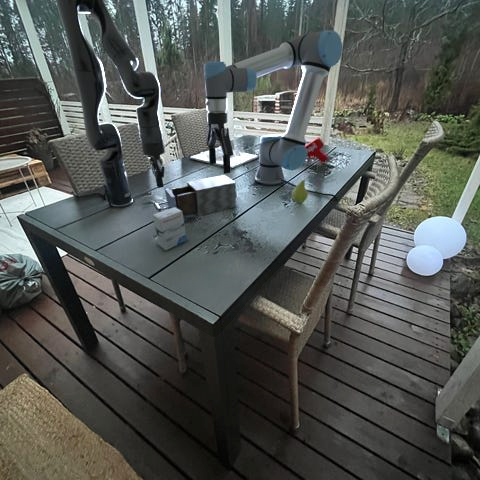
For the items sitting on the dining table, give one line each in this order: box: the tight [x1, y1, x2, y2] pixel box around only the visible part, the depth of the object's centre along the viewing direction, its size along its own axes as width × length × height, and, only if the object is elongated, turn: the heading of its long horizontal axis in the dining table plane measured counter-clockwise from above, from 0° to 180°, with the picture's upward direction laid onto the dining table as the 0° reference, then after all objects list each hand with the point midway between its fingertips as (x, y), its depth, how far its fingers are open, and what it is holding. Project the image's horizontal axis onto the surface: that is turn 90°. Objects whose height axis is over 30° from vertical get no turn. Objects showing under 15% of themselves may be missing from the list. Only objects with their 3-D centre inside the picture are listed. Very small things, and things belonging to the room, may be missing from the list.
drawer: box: [153, 185, 198, 216], centre depth 110 cm, size 22×10×9 cm, turn 119°
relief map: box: [190, 145, 259, 169], centre depth 178 cm, size 27×35×5 cm
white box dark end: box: [186, 174, 237, 217], centre depth 115 cm, size 17×11×11 cm, turn 119°
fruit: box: [291, 174, 311, 204], centre depth 118 cm, size 7×8×12 cm
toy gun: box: [305, 136, 329, 165], centre depth 169 cm, size 18×4×15 cm
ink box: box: [152, 207, 187, 251], centre depth 91 cm, size 8×5×12 cm, turn 135°
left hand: (160, 186), depth 103 cm, fingers closed
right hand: (219, 168), depth 111 cm, fingers open, 13 cm apart
